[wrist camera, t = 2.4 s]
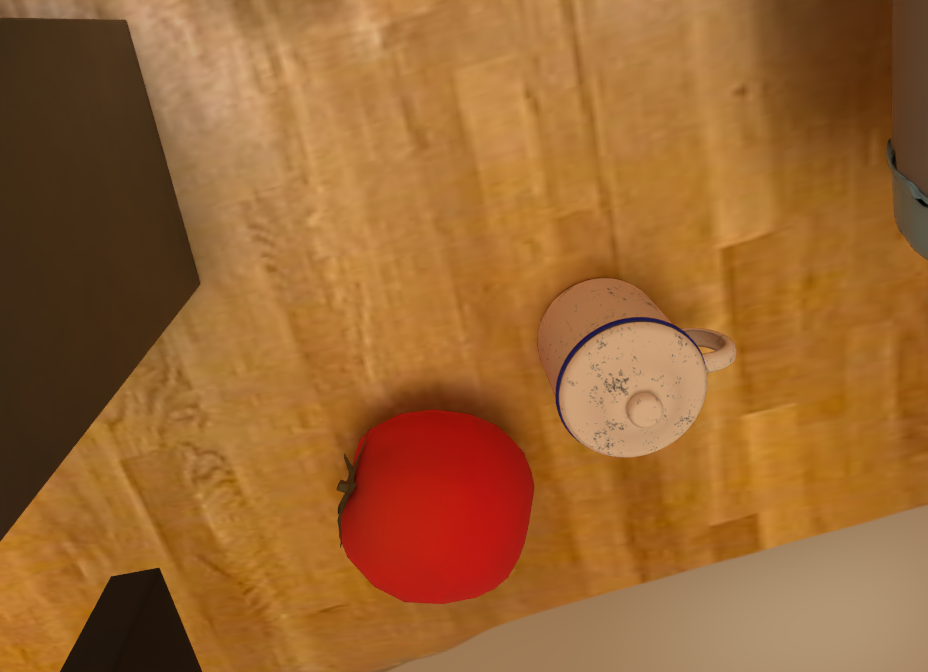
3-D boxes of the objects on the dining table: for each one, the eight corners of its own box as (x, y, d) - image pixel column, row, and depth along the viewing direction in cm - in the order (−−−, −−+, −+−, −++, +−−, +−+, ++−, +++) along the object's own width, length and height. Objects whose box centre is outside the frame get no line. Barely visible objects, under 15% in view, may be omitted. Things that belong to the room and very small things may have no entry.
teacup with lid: (541, 403, 54) (575, 497, 44) (524, 285, 51) (558, 355, 40) (705, 374, 54) (779, 460, 44) (700, 254, 51) (779, 315, 40)
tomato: (522, 441, 59) (357, 396, 57) (583, 432, 47) (376, 374, 45) (485, 608, 56) (308, 567, 54) (539, 645, 44) (314, 594, 42)
